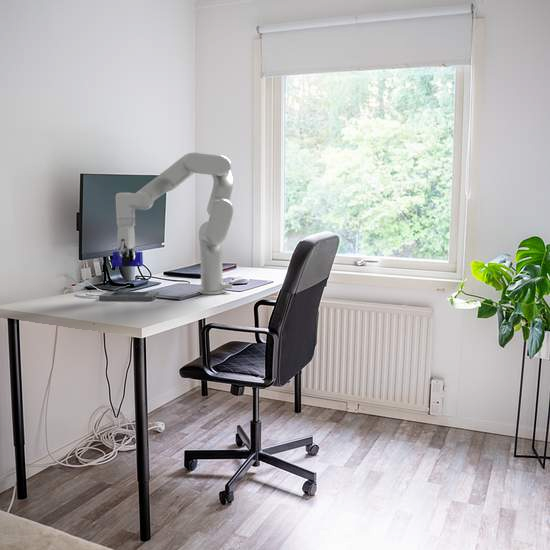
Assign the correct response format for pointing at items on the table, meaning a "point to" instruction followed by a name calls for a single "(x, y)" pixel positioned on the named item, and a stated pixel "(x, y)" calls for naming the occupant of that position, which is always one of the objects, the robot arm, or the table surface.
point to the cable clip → (138, 259)
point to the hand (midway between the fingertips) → (128, 264)
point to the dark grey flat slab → (128, 296)
